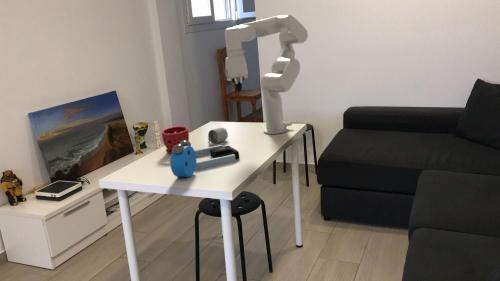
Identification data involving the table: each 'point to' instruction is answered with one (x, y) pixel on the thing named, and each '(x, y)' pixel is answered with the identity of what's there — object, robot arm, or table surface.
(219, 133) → the ceramic mug
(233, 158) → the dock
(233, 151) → the battery charger
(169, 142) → the plant pot
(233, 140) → the table surface
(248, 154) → the table surface
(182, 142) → the alarm clock
